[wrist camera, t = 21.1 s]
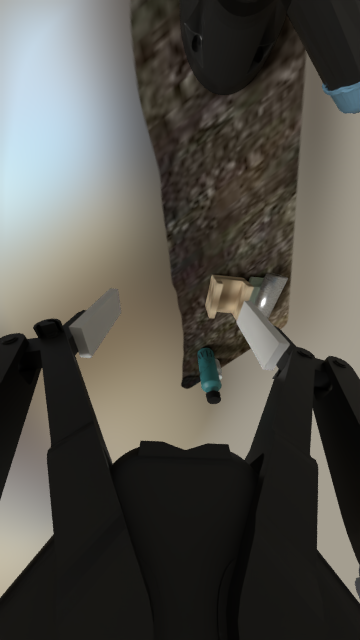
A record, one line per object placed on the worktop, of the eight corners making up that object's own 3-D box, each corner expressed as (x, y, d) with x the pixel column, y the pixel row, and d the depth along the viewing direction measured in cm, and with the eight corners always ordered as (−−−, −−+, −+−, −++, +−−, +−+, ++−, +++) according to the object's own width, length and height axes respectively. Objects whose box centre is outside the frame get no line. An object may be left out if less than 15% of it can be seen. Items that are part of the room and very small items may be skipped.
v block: (249, 276, 43) (255, 281, 39) (273, 278, 43) (281, 283, 40) (240, 304, 48) (244, 310, 44) (261, 306, 48) (267, 312, 45)
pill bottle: (211, 366, 64) (214, 382, 58) (206, 360, 62) (209, 376, 56) (220, 363, 63) (225, 379, 56) (216, 356, 61) (220, 372, 54)
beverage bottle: (212, 343, 57) (225, 393, 40) (213, 355, 60) (226, 405, 44) (195, 345, 58) (201, 396, 41) (197, 357, 61) (204, 408, 44)
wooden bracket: (212, 274, 42) (217, 283, 36) (243, 277, 43) (254, 287, 37) (205, 305, 48) (209, 317, 42) (233, 307, 48) (241, 320, 42)
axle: (262, 272, 39) (272, 278, 34) (280, 274, 39) (292, 280, 35) (244, 317, 46) (250, 326, 42) (259, 318, 47) (267, 328, 42)
